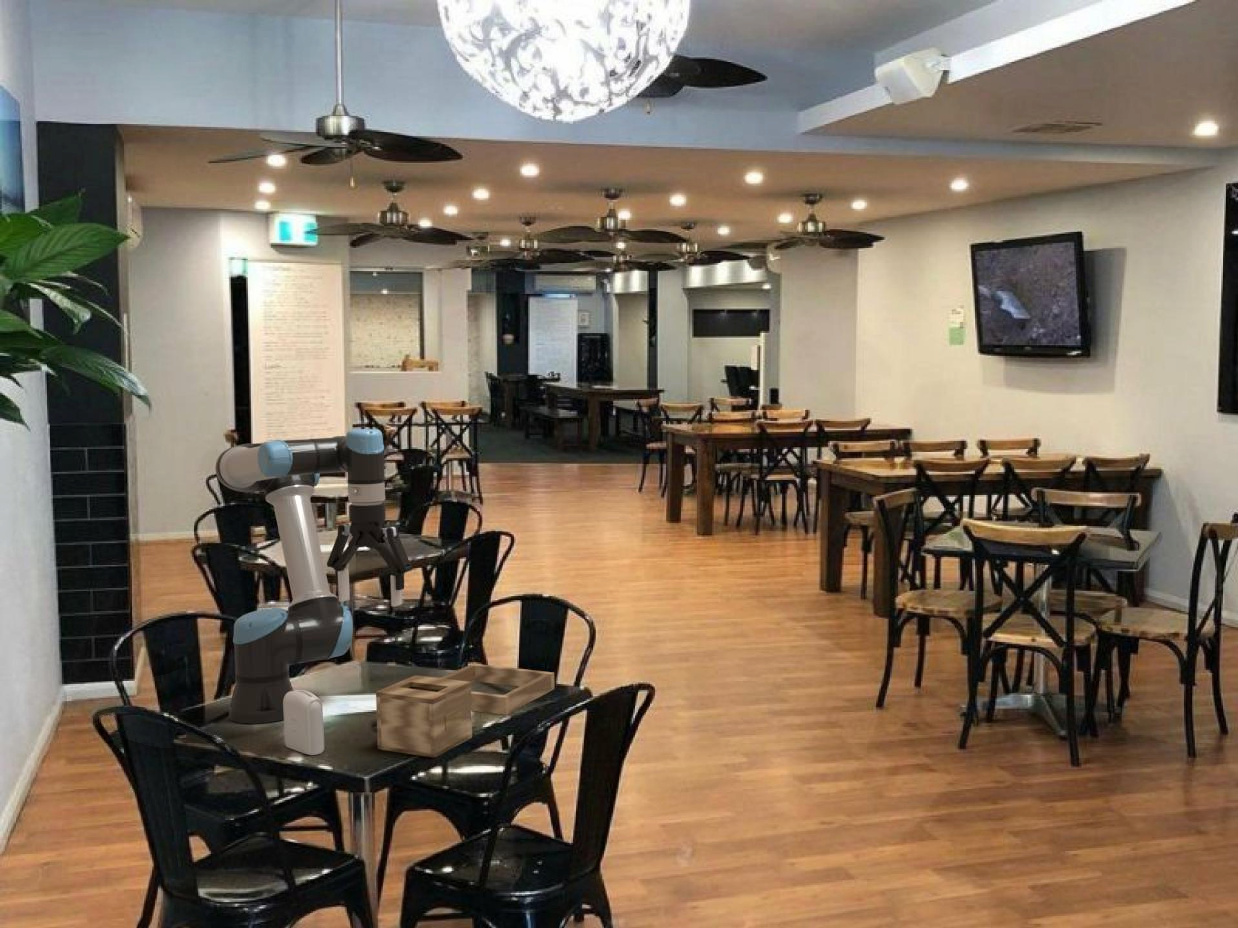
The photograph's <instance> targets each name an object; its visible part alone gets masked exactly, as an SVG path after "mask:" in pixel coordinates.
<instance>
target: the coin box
mask: <svg viewBox="0 0 1238 928" xmlns="http://www.w3.org/2000/svg"><path fill="white" fill-rule="evenodd" d="M471 691H472V683H471V682H468V681H459V680H451V679H443V678H442V677H432V676H425V675H424V676H423V675H417V674H416V675H413V676H411V677H408V678H406V679H404V680H401V681H399V682H396V683H394V684H391V685H389V686H386V687H384V688H382V689H379V690H378V691H375V704H376V705H375V707H376V732H377V733H376V734H377V735H376V736H377V749H378V750H381V751H388V752H394V753H402V754H408V755H413V756H421V757H427V758H434V759H435V758H437V757H439V756H441V755H442V754H445V753H446V752H448V751H450V750H452V749H454V748H456V747H457V746H459V745H461V744H463V743H465V742H466V741H468V740H470V739H472V738H473V719H472V717H473V715H472V714H473V713H472V710H471Z"/></svg>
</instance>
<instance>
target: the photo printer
mask: <svg viewBox="0 0 1238 928" xmlns="http://www.w3.org/2000/svg"><path fill="white" fill-rule="evenodd" d="M323 707H324V706H323V703H322V701H321V699H320V698H319V697H318V696H316V695H315V694H313V693H312V692H310V691H308V690H304V689H293V691H290V692H288V693H287V694H286V695H285V697H284V700H283V711H284V719H283V725H284V726H283V730H284V744H285V746H286V747H287V748H289V749H291V750H293V751H297V752H300V753H301V754H305V755H309V756H317V755H320V754H322V753H323V751H325V732H324V730H325V729H324V712H323V711H324V710H323Z"/></svg>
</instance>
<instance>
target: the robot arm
mask: <svg viewBox="0 0 1238 928" xmlns="http://www.w3.org/2000/svg"><path fill="white" fill-rule="evenodd" d="M383 438H384V437H383V433H382V431H381V430H380V429H377V428H376V429H375V428H360V429H350V430H348V431H347V433H346V435H337V436H332V437H322V438H319V437H318V438H305V439H284V440H281V439H274V440H270V441H264V442H258V443H243V444H238V445H234V446H231V447H229V448H227V449H225V450H224V451H222V452H221V453H220V454H219V456H218V457H217V459H216V462H215V475H216V476H217V479H218V480H219V481H220V483H221V484H222V485H224V486H225V487H227V488H228V489H230V490H233V491H236V492H241V493H257V492H259V493H260V492H261V493H262V492H263V493H264V497H265V501H266V502H267V503H269V505H272V506H273V508H274V514H275V520H276V522H277V528H278V535H279V538H280V544H281V549H282V553H283V559H284V562H285V567H286V568H285V569H286V572H287V573H286V574H287V577H288V581H289V586H290V587H289V588H290V592H291V593H290V594H291V596H292V597H291V598H292V601H291V602H290V604H289V605H288V607H287V611H288V612H287V611H286V609H285V608H282V607H271V608H262V609H258V610H254V611H251V612H248V613H245V614H242V616H240V617H239V618H237V619H236V620H235V621H234V625H233V638H232V642H233V646H234V647H233V649H234V670H235V672H234V673H235V685H234V688H233V693H232V697H231V700H230V704H229V706H228V718H229V720H230V721H233V722H236V723H240V724H267V723H273V722H279V721H284V711H283V700H284V697H285V695H286V694H287V693H288V692H290V691H294V689H293V686H292V683H291V681H290V680H291V679H290V665H296V664H302V663H303V664H304V663H309V662H314V661H320V660H329V659H332V658H336V657H340V656H344V655H345V654H346V653H347V652H348V650H349V648H350V646H351V644H352V640H353V633H354V632H353V631H354V625H353V622H354V620H353V617H352V616H353V615H352V613H351V611H350V609H349V607H348V606H346V605H344V604H343V605H340V603H342V602H345V601H349V600H350V599H351V598H350V574H349V569H347V566H348V564H349V563H350V562H351V560H352V559H353V557H354V556H355V555H356V553H357V551H358V550H359V548H368V549H369V548H370V549H374V550H375V551H377V552H378V553H379V555H380V556H381V557H382V558H383V560H384V562H385V563H386V565H387V566H388V567H389V569H390V571H392V574H391V575H390V598H391V599H390V601H391V602H390V603H391V607H397V606H401V605H402V604H403V593H402V592H403V590H404V589H405V575H406V573H408V572H412V570H413V566H412V564H411V562H410V561H411V560H410V559H409V556H408V554H407V552H406V550H405V547H404V546H403V543H402V540H401V539H400V535H399V528H398V526H392V527H391V526H390V527H386V525H385V521H386V517H387V515H386V505H385V503H383V502H384V501H386V489H385V487H386V486H385V463H384V462H385V461H384V459H385V457H384V455H385V454H384V451H385V445H384V439H383ZM334 473H347V488H348V489H347V494H348V502H349V503H351V504H349V506H348V521H349V522H350V524H349V523H344V524H339V525H338V526H337V536H336V538H335V540H334V543H333V547H332V549H331V551H330V554H329V555H328V556H329V557H328V559H327V562H326V566H327V567H328V568H332V569H333V570H334V574H335V575H334V576H335V585H336V586H338V590H337V591H338V592H337V593H338V596H337V595H335V594H334V593H332V592H331V591H330V587H329V581H328V578H327V573H326V568H325V564H324V563H325V562H324V560H323V559H324V558H323V554H322V549H321V545H320V541H319V540H320V539H319V534H318V531H317V526H316V522H315V521H316V519H315V516H314V512H313V507H312V503H311V498H312V496H313V495H314V493H315V491H316V490H315V487H317V485H318V484H319V482H320V476H321V475H320V474H334ZM350 535H351V536H352V538H351V539H350V541H349V542H348V540H349V536H350ZM386 539H387V540H386ZM347 542H348V543H347ZM346 544H347V547H346Z"/></svg>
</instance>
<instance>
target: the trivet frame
mask: <svg viewBox="0 0 1238 928" xmlns="http://www.w3.org/2000/svg"><path fill="white" fill-rule="evenodd" d="M441 678H443V679H451V680H459V681H468V682H471V684H473V683H474V682H477V683H485V684H486V683H487V684H493V685H503V686H511V687H517V688H514V689H512V690H511V691H509V692H507V693H505V694H497V693H490V692H489V693H488V692H480V691H479V692H478V691H473V690H471V710H472V711H473V712H479V713H486V714H487V713H488V714H495V715H500V716H501V715H504V716H507V715H509V714H511V713H513V712H514V711H516V710H518V709H520V708H522V707H524V706H525V705H527V704H529V703H530V702H533V701H536V700H537V699H538V698H540V697H542V696H544V695H546V694H548V693H550V692H551V691H553V690H555V672H554V671H553V672H550V671H543V670H542V671H541V670H535V669H534V670H532V669H526V668H525V669H524V668H514V667H506V666H498V665H490V664H489V665H488V664H480V663H471V664H469V665H467V666H463V667H462V668H460V669H458V670H455V671H453V672H451V673H449V674H446V675H444V676H442V677H441Z"/></svg>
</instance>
